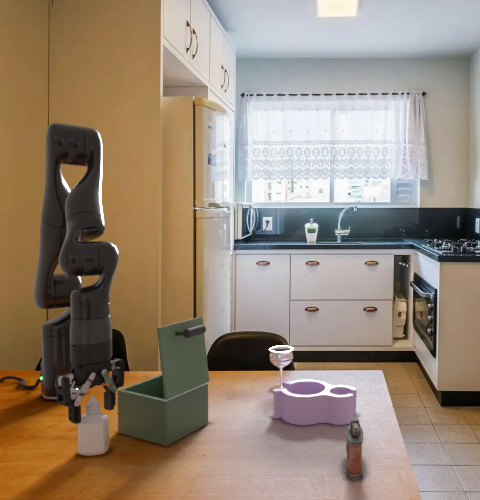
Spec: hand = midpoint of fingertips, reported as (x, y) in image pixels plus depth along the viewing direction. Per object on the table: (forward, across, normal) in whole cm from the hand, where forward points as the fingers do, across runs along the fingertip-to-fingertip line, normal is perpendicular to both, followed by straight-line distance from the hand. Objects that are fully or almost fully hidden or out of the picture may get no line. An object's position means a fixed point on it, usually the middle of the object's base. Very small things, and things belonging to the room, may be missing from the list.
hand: (92, 415), depth 102 cm
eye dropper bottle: (+8, 0, 0) cm, 8 cm away
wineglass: (+8, -48, +14) cm, 51 cm away
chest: (+8, -15, +4) cm, 17 cm away
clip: (+8, -37, +32) cm, 50 cm away
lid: (-10, -15, +10) cm, 21 cm away
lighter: (+8, -18, +52) cm, 56 cm away
